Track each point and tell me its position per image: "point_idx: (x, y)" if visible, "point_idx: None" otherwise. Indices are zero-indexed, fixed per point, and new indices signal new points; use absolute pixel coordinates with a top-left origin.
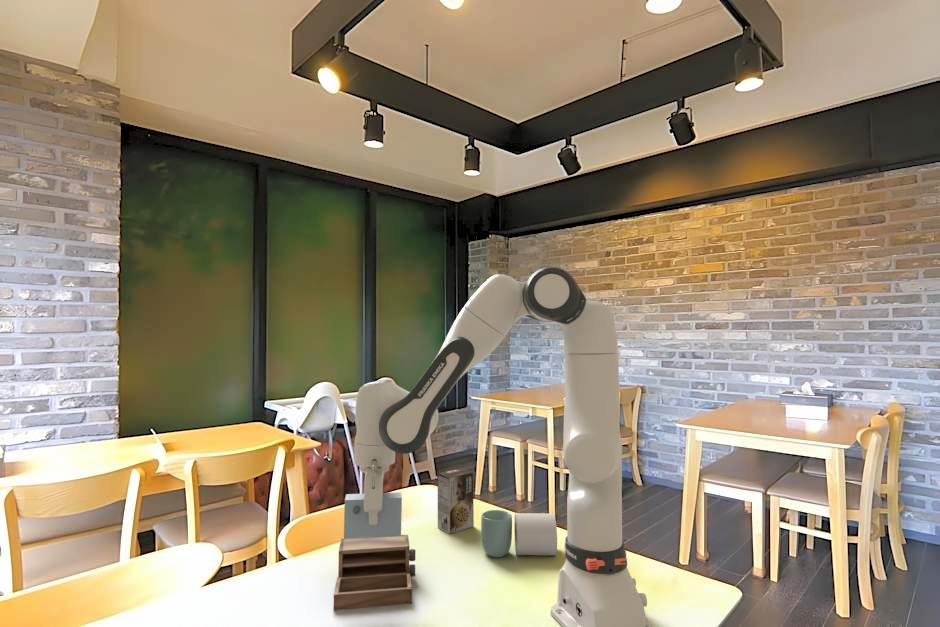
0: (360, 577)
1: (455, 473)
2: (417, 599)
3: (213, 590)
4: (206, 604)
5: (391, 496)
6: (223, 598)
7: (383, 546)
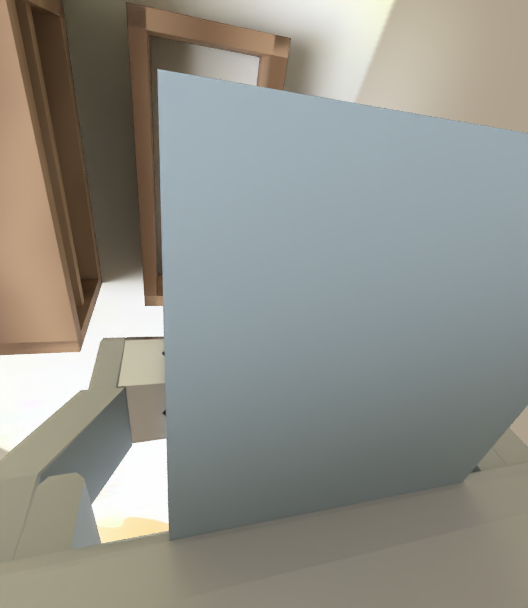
0: (154, 238)
1: None
2: (253, 5)
3: (113, 481)
4: (167, 471)
5: (459, 389)
6: (148, 460)
7: (17, 160)
